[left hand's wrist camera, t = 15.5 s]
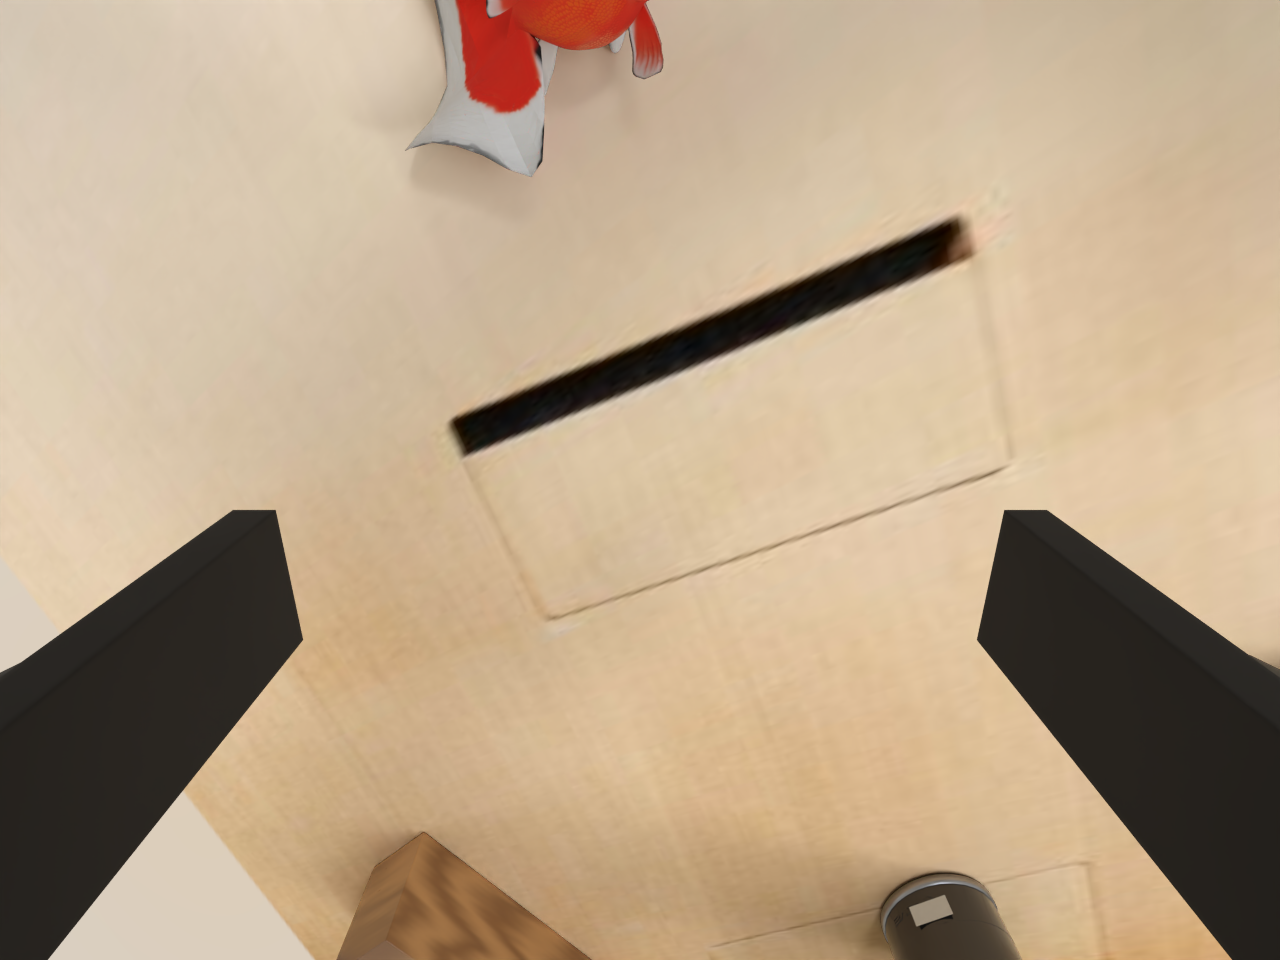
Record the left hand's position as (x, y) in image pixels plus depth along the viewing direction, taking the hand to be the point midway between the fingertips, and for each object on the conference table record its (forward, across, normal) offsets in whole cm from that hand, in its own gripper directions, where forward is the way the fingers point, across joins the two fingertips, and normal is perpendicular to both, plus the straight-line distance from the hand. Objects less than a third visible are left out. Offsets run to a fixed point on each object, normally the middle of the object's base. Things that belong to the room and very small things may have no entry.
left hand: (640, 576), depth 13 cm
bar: (+29, -12, -50) cm, 59 cm away
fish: (+29, -5, +14) cm, 33 cm away
